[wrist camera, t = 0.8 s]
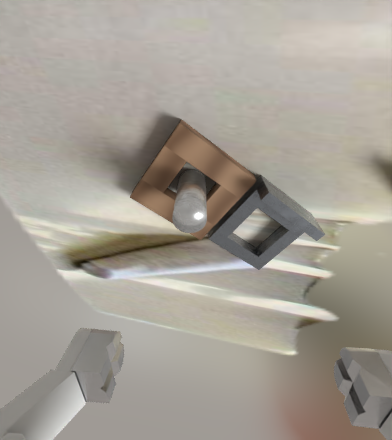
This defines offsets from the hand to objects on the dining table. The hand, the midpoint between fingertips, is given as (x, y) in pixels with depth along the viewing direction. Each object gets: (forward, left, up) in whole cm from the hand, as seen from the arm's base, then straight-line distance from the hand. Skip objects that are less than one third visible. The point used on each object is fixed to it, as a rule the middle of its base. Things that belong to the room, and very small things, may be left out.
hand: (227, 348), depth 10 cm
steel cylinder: (+3, -8, -33) cm, 34 cm away
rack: (+17, -8, -33) cm, 38 cm away
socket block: (+3, -8, -33) cm, 34 cm away
